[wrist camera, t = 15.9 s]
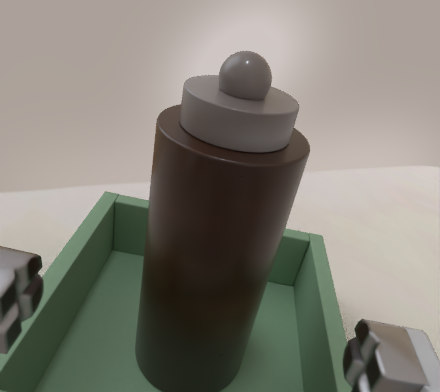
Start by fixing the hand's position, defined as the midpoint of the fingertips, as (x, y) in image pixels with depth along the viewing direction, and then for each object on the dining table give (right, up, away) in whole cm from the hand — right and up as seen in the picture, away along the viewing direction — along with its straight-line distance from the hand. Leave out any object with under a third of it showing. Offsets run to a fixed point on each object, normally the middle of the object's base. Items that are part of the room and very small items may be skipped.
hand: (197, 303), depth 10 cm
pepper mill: (-1, -4, +8) cm, 9 cm away
